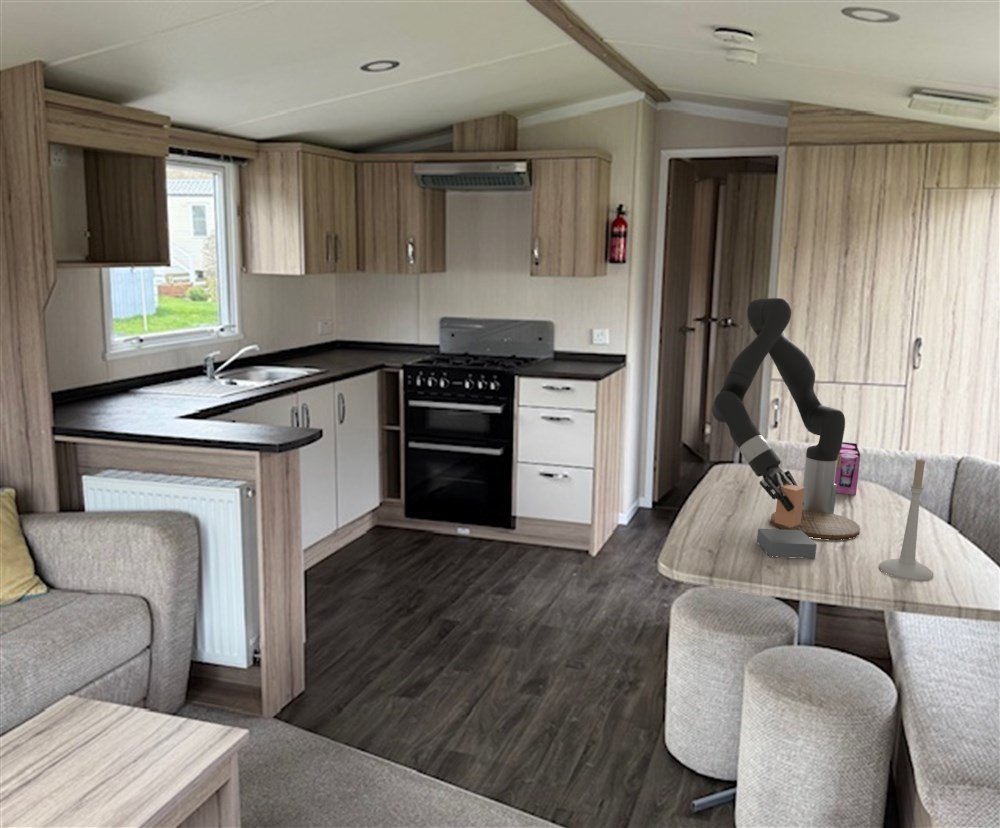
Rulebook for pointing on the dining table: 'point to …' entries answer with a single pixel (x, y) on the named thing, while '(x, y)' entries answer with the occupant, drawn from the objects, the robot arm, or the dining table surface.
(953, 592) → the dining table surface
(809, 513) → the trivet
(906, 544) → the candlestick
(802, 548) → the charcoal plinth
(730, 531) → the dining table surface
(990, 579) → the dining table surface
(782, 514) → the terracotta block
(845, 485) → the gum box
